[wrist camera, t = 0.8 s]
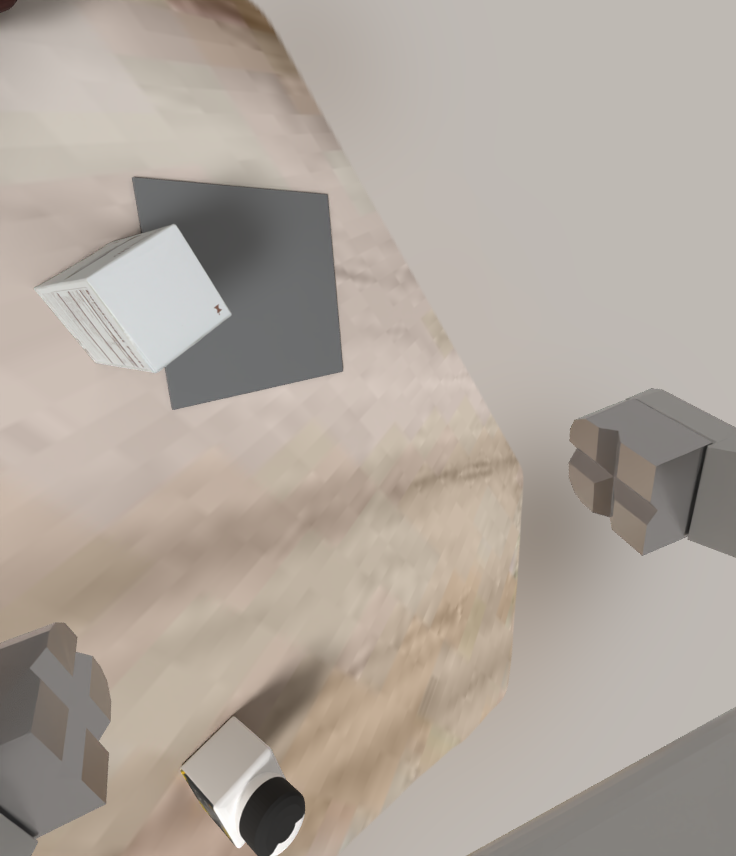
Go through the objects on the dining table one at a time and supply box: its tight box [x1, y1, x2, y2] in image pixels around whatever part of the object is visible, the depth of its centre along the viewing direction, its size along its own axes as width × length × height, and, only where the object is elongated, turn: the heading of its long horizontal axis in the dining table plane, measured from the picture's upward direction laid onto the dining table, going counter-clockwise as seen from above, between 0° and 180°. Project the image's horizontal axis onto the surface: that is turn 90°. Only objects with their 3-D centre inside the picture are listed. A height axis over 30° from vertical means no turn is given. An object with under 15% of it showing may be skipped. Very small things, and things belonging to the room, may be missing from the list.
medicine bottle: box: [180, 716, 305, 856], centre depth 55 cm, size 7×7×12 cm
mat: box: [132, 177, 343, 410], centre depth 55 cm, size 22×20×1 cm
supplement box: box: [34, 224, 232, 373], centre depth 40 cm, size 7×7×13 cm
